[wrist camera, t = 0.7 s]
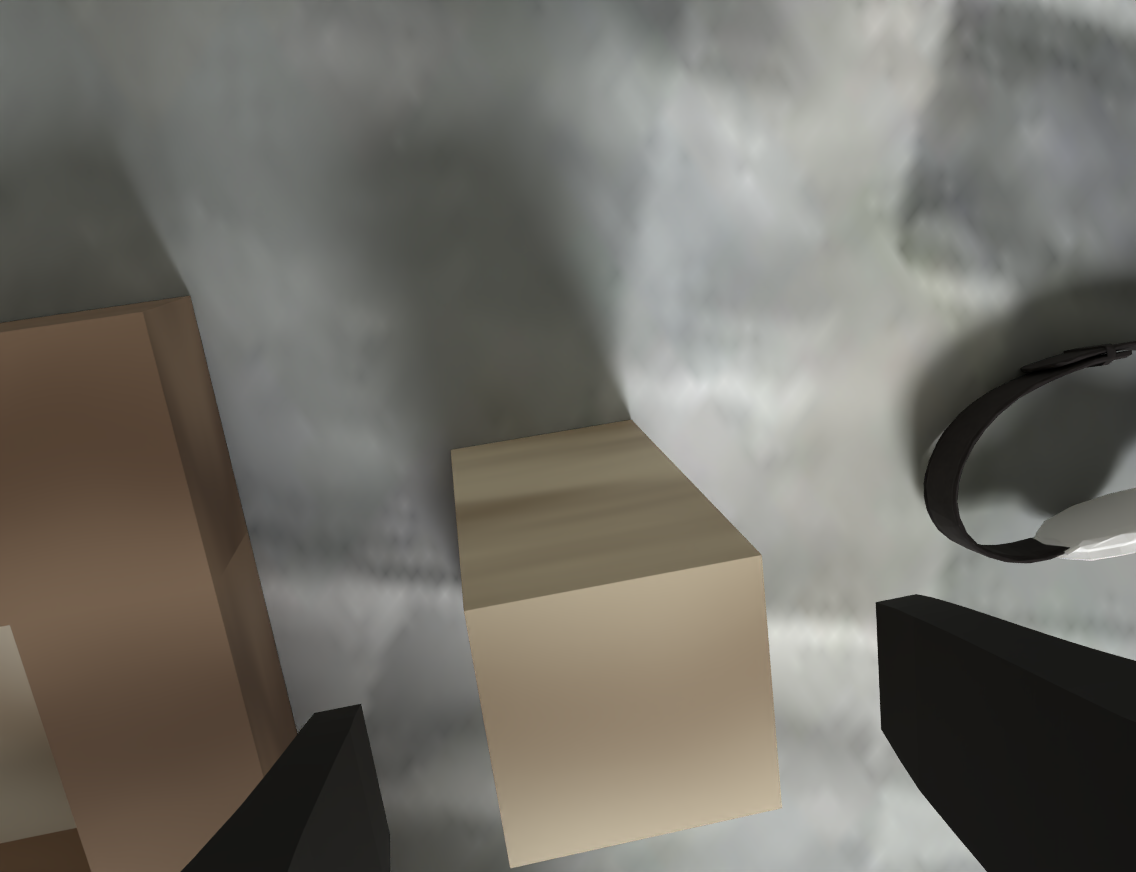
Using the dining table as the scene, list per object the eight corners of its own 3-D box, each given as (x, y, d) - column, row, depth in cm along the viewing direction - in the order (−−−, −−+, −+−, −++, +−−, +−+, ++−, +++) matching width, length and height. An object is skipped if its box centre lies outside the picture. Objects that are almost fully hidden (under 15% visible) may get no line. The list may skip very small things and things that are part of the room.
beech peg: (650, 584, 20) (781, 808, 13) (479, 617, 20) (510, 868, 12) (631, 419, 19) (761, 555, 12) (450, 449, 19) (463, 611, 11)
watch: (930, 578, 22) (1024, 648, 18) (882, 406, 20) (974, 446, 17) (1208, 461, 22) (1353, 507, 19) (1179, 283, 21) (1329, 298, 17)
